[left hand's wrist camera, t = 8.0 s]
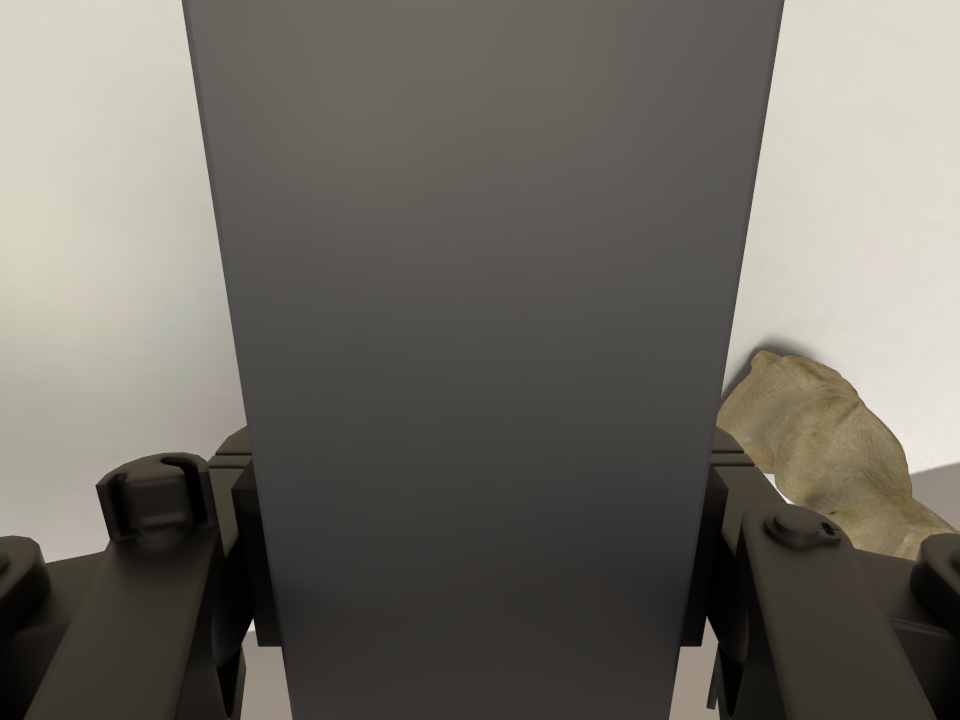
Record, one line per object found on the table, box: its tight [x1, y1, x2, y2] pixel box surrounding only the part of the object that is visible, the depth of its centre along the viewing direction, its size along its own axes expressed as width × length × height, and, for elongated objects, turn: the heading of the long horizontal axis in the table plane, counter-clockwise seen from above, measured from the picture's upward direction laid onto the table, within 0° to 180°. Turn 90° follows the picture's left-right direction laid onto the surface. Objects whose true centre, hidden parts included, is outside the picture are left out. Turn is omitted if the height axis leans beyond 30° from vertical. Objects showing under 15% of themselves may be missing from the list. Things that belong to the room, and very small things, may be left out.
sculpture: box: [716, 350, 960, 561], centre depth 28 cm, size 6×7×15 cm
